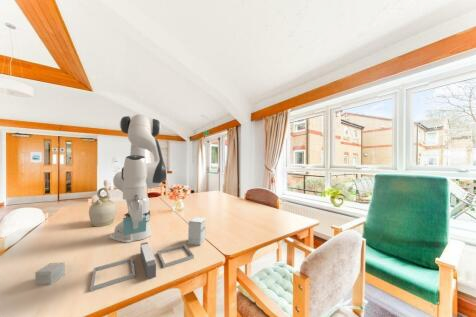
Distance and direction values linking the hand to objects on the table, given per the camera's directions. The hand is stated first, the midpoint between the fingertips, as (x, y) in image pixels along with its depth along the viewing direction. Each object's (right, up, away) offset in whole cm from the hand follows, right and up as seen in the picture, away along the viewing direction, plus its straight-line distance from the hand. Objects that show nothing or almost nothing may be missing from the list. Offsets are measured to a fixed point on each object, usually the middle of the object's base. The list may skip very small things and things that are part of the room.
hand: (134, 226), depth 75 cm
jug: (-51, -17, +49) cm, 73 cm away
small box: (-27, -18, -8) cm, 34 cm away
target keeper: (-6, -18, -4) cm, 19 cm away
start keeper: (+14, -18, +10) cm, 25 cm away
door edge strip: (+4, -18, +3) cm, 19 cm away
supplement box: (+21, -18, +24) cm, 37 cm away
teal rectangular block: (0, -2, 0) cm, 2 cm away
